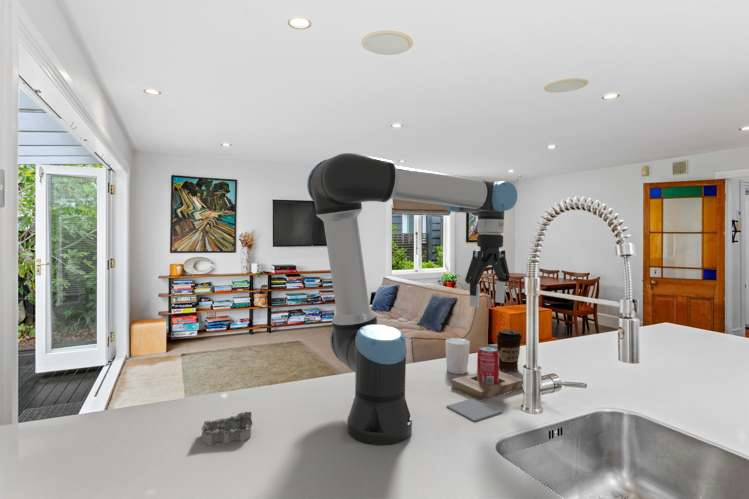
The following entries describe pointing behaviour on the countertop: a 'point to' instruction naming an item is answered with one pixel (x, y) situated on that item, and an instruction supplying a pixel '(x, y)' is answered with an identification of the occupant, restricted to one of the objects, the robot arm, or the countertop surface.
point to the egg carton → (228, 423)
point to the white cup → (457, 355)
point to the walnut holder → (483, 391)
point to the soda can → (488, 365)
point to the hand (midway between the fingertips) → (487, 304)
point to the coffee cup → (508, 349)
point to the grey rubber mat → (474, 409)
